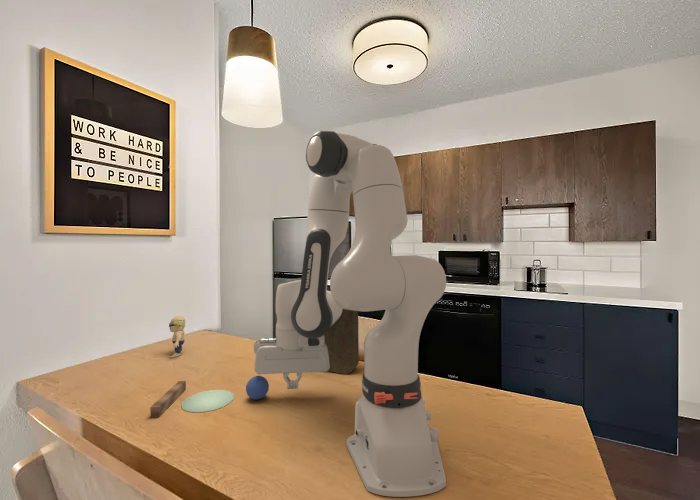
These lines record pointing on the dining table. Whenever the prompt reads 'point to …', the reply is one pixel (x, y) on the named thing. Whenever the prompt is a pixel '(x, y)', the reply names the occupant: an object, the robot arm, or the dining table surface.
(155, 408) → the brown bar
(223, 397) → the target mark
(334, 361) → the canister
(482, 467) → the dining table surface
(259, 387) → the ball
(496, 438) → the dining table surface
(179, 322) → the toy
